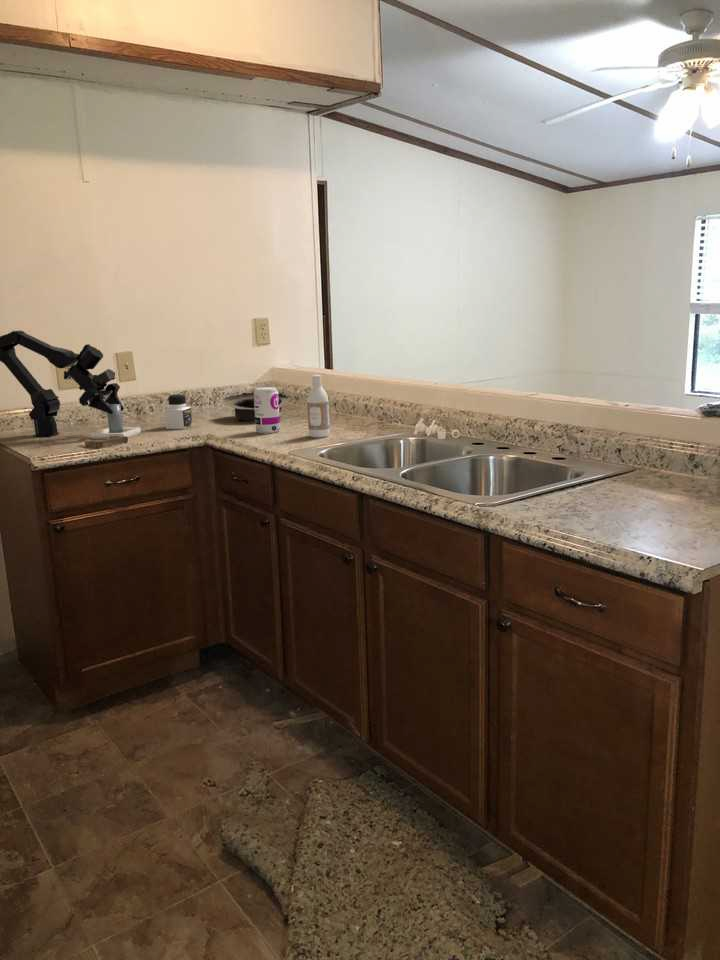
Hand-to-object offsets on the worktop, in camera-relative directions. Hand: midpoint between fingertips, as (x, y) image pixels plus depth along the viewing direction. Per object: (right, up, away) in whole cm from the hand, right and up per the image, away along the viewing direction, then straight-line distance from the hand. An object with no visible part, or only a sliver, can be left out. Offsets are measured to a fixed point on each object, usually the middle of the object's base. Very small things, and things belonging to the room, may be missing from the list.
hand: (117, 411), depth 266 cm
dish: (-1, -8, +2) cm, 9 cm away
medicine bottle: (+17, -5, +16) cm, 24 cm away
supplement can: (+51, -7, +2) cm, 52 cm away
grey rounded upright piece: (-1, -7, +2) cm, 8 cm away
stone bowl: (+44, 0, +32) cm, 54 cm away
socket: (0, -12, -13) cm, 17 cm away
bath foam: (+69, -9, -8) cm, 70 cm away
